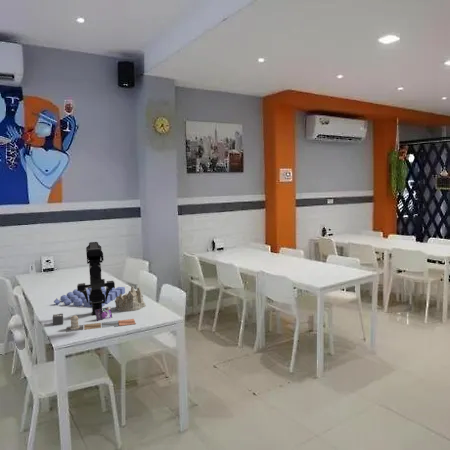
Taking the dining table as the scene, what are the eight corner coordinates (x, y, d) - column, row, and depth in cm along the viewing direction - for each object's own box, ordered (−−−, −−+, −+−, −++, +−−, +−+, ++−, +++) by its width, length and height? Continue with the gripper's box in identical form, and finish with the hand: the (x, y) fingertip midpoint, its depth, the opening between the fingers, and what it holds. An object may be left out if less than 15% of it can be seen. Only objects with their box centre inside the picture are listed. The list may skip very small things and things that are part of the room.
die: (53, 323, 236) (53, 314, 236) (63, 322, 238) (62, 313, 237) (53, 326, 231) (52, 317, 231) (62, 325, 233) (62, 315, 232)
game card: (95, 309, 238) (110, 306, 243) (92, 310, 242) (107, 307, 247) (97, 321, 236) (113, 318, 242) (94, 322, 240) (109, 319, 246)
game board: (66, 327, 229) (66, 326, 229) (133, 319, 240) (133, 318, 239) (66, 332, 221) (65, 332, 221) (135, 324, 231) (135, 323, 231)
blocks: (101, 308, 265) (100, 300, 264) (51, 306, 272) (51, 299, 271) (125, 293, 299) (124, 286, 298) (80, 292, 306) (80, 285, 305)
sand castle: (149, 305, 266) (146, 282, 265) (131, 313, 252) (128, 289, 251) (130, 303, 274) (128, 281, 273) (112, 311, 260) (109, 287, 259)
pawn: (70, 327, 227) (69, 314, 227) (79, 326, 229) (79, 313, 228) (70, 330, 223) (69, 317, 222) (79, 329, 224) (78, 316, 224)
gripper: (76, 277, 212) (78, 307, 214) (114, 274, 218) (116, 303, 219) (76, 273, 223) (78, 302, 224) (113, 270, 228) (114, 298, 230)
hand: (97, 301), depth 224 cm, fingers open, 9 cm apart
